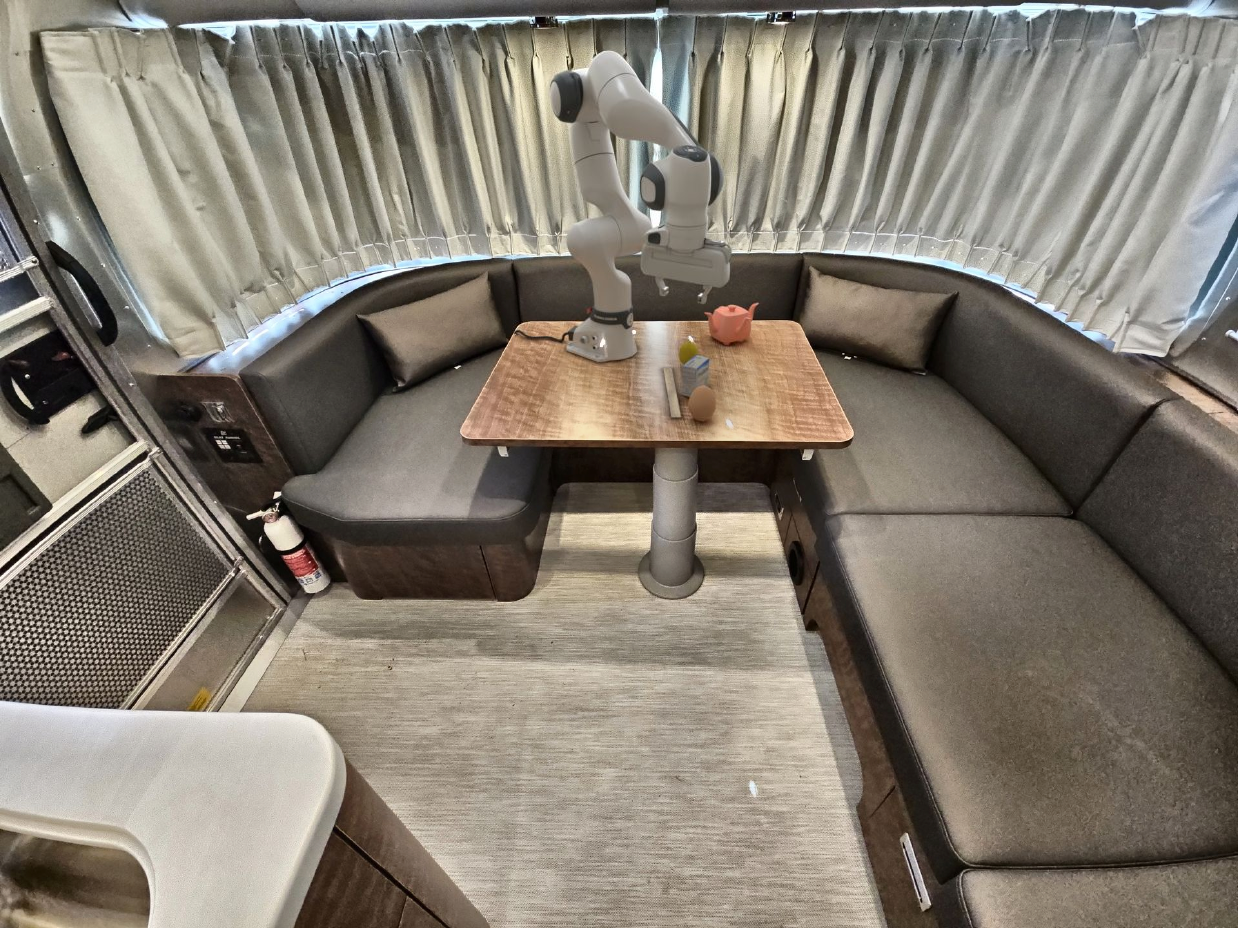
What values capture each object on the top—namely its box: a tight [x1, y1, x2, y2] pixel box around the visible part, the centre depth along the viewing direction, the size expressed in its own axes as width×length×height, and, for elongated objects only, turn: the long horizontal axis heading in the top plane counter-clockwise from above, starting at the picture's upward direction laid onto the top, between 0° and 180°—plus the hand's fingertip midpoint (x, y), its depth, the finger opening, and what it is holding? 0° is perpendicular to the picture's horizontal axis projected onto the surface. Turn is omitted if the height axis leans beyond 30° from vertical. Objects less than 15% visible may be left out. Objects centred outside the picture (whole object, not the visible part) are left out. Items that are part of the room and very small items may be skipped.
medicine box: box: [680, 355, 711, 398], centre depth 141 cm, size 8×4×9 cm, turn 148°
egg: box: [687, 386, 717, 422], centre depth 129 cm, size 7×7×9 cm
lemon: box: [678, 340, 699, 366], centre depth 153 cm, size 6×6×8 cm
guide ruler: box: [662, 367, 682, 419], centre depth 143 cm, size 2×28×1 cm, turn 0°
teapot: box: [704, 302, 759, 346], centre depth 169 cm, size 14×14×11 cm
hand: (682, 299), depth 121 cm, fingers open, 8 cm apart
